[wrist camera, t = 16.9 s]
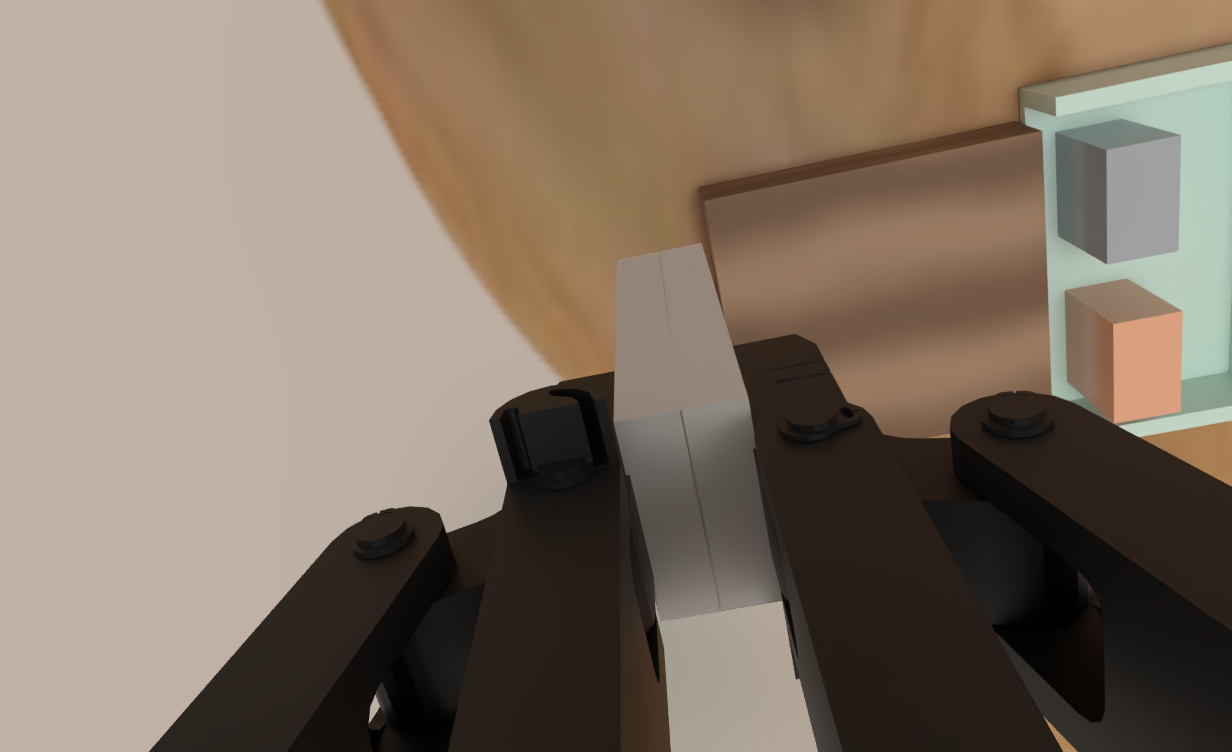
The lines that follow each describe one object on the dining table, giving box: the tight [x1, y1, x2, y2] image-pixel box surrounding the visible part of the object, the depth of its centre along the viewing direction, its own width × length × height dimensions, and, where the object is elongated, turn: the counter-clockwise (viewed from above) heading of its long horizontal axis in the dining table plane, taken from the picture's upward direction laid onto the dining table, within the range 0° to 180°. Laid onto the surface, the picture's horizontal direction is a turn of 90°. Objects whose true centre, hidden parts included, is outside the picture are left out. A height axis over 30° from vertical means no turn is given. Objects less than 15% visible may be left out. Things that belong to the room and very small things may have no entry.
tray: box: [1019, 43, 1232, 437], centre depth 44 cm, size 17×10×4 cm, turn 12°
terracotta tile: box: [1065, 278, 1183, 424], centre depth 45 cm, size 5×5×3 cm
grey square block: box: [1055, 119, 1181, 265], centre depth 42 cm, size 5×5×3 cm
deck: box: [699, 122, 1052, 438], centre depth 46 cm, size 14×15×3 cm
